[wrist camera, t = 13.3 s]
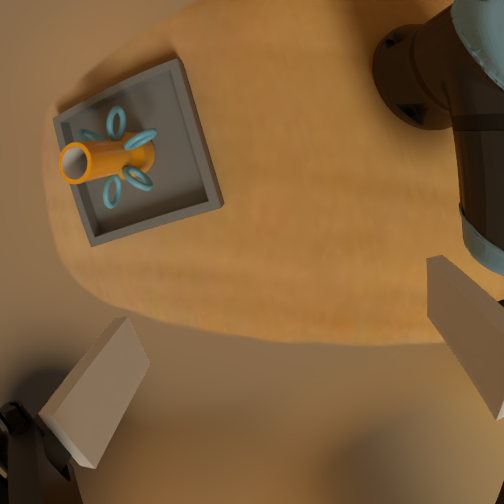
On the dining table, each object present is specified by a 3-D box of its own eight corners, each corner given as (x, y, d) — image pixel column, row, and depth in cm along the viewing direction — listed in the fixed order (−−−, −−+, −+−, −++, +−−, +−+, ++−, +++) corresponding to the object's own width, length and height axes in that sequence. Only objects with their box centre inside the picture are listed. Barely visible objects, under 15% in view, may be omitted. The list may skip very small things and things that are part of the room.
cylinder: (106, 110, 38) (39, 103, 24) (175, 110, 38) (126, 96, 24) (101, 195, 42) (36, 221, 28) (168, 201, 42) (119, 231, 28)
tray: (183, 63, 36) (176, 57, 34) (224, 203, 42) (220, 207, 39) (64, 118, 39) (52, 118, 36) (100, 241, 45) (91, 247, 42)
